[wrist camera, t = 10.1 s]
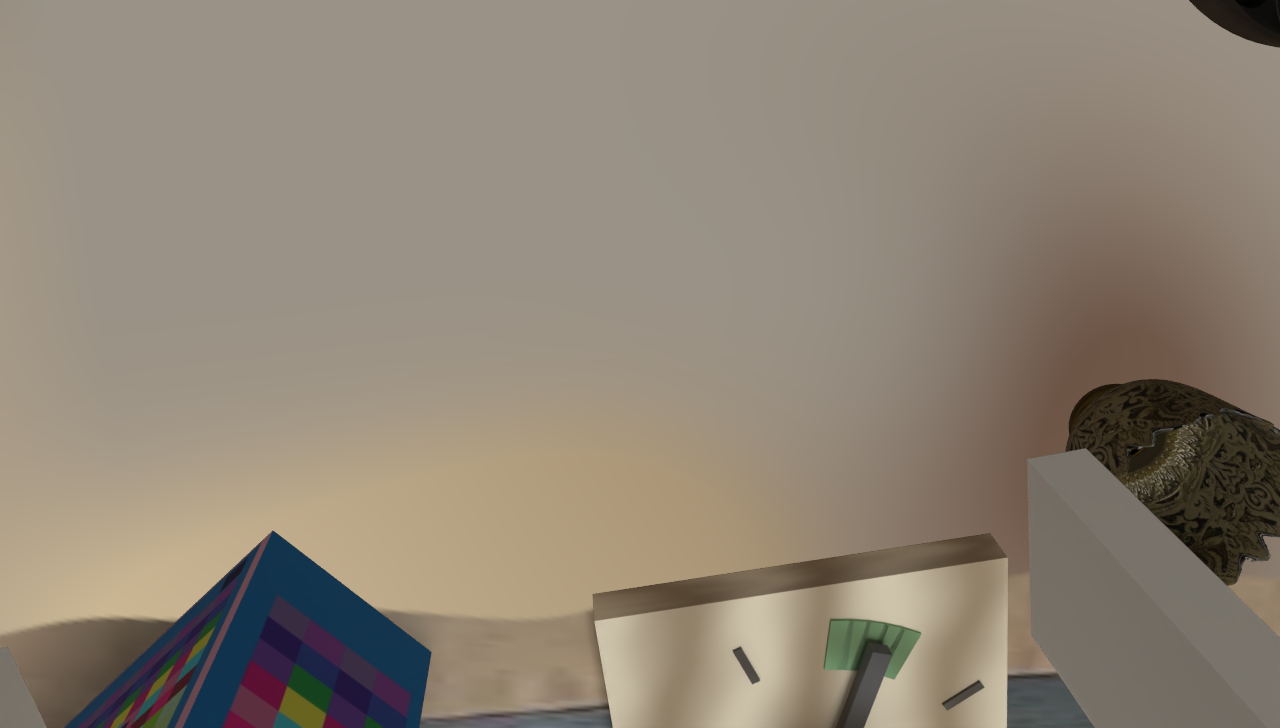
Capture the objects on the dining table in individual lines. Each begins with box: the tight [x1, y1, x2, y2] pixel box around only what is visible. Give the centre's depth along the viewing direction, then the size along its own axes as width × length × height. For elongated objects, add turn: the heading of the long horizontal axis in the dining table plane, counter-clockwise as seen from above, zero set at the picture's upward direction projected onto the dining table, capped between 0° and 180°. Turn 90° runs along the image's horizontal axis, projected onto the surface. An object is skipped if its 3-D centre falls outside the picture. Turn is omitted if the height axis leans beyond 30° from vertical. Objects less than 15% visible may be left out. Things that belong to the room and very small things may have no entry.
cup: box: [1066, 379, 1280, 586], centre depth 43 cm, size 8×7×8 cm
